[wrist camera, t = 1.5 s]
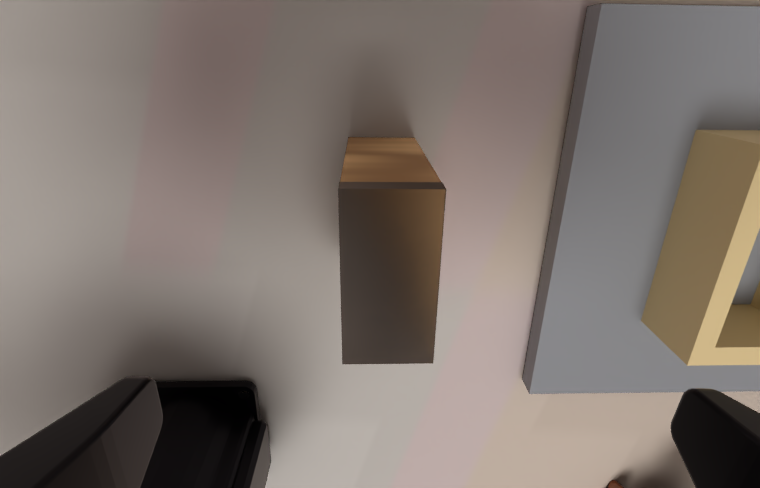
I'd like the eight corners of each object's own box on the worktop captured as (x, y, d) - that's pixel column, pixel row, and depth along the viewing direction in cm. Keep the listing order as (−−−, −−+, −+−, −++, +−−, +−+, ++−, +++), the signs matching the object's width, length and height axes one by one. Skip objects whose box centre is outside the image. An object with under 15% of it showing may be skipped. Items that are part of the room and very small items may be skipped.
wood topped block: (349, 257, 19) (342, 364, 12) (348, 136, 17) (338, 188, 10) (409, 257, 19) (433, 363, 12) (414, 137, 17) (446, 188, 10)
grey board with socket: (522, 379, 22) (554, 446, 18) (587, 6, 15) (658, -9, 12) (801, 376, 22) (888, 441, 18) (976, 14, 16) (1163, 1, 12)
